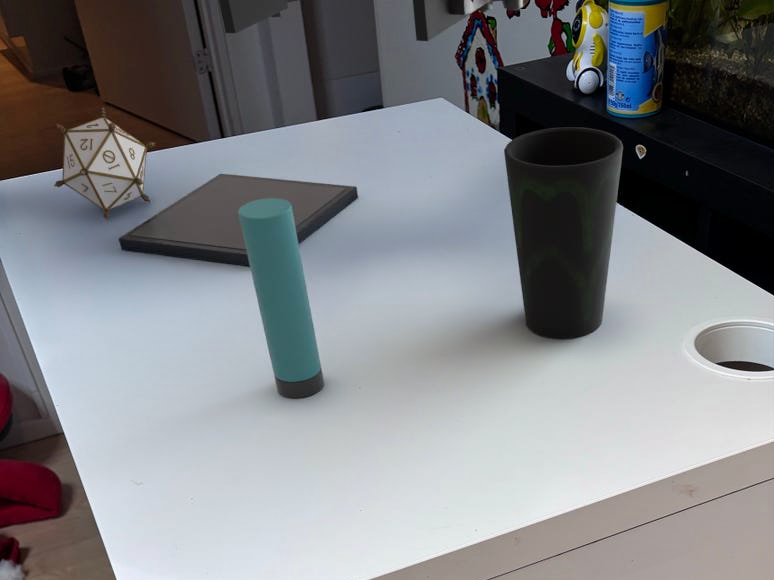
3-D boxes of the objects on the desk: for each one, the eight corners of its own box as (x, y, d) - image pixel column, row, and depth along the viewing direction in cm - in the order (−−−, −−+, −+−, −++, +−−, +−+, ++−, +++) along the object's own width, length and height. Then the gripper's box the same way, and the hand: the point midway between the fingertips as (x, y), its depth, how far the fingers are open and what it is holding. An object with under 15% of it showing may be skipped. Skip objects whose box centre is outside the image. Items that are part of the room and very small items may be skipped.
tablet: (121, 249, 89) (117, 237, 88) (222, 183, 99) (220, 172, 98) (267, 268, 84) (265, 256, 83) (358, 197, 94) (356, 185, 94)
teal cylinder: (268, 394, 69) (227, 215, 61) (292, 371, 71) (256, 195, 63) (309, 401, 68) (273, 220, 60) (332, 378, 70) (300, 200, 62)
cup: (627, 302, 76) (635, 129, 67) (602, 351, 70) (607, 170, 62) (528, 292, 78) (523, 124, 69) (497, 339, 73) (487, 163, 64)
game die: (128, 239, 100) (125, 132, 99) (174, 223, 94) (172, 109, 93) (37, 218, 93) (33, 104, 92) (81, 200, 88) (77, 77, 87)
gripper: (621, 2, 74) (512, 90, 60) (323, -6, 82) (168, 70, 68) (624, -126, 69) (506, -62, 55) (306, -121, 77) (134, -64, 63)
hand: (318, 11), depth 62 cm, fingers open, 13 cm apart
